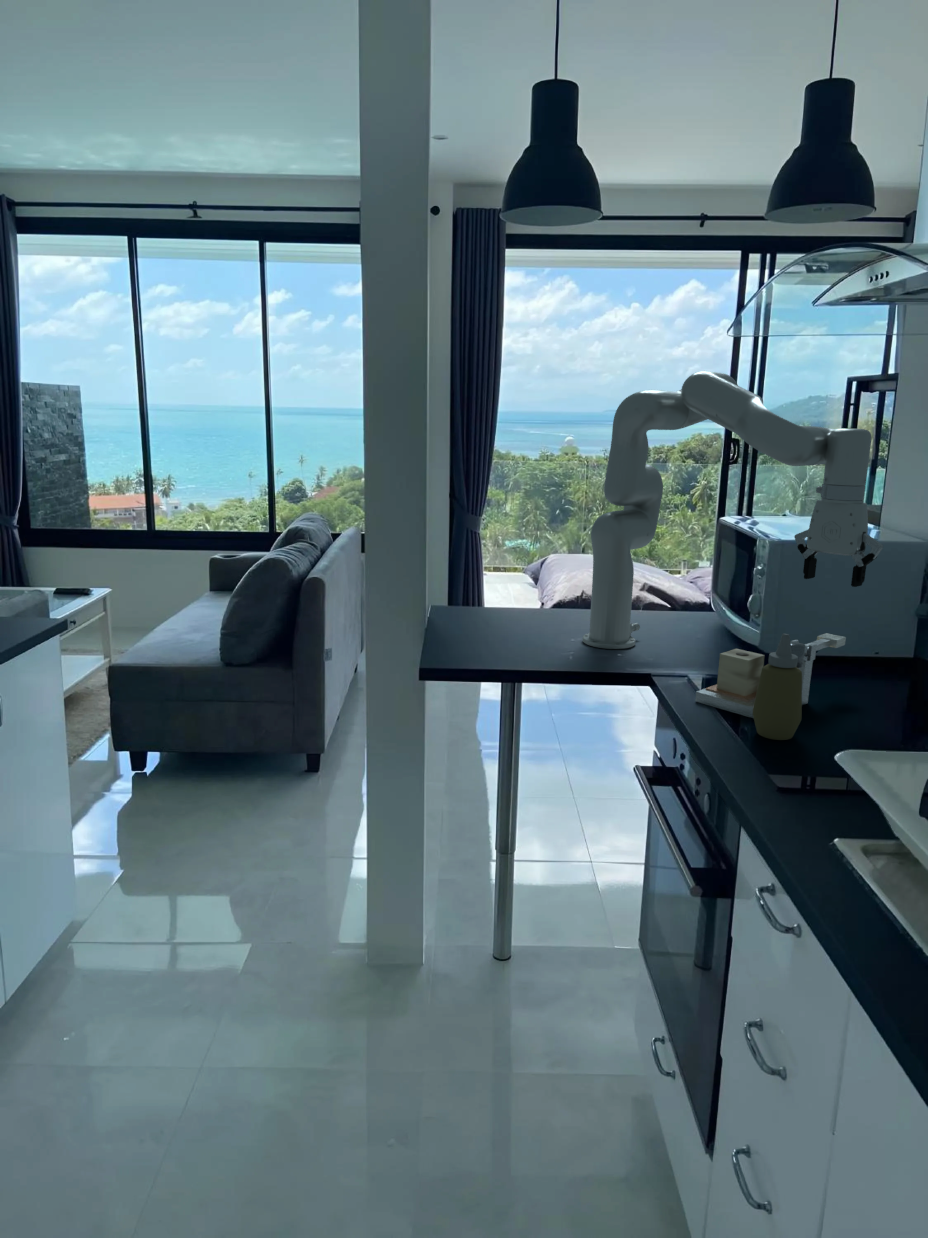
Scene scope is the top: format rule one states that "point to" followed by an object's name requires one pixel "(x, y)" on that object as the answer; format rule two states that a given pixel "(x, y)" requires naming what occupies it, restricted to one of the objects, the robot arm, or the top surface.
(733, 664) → the maple block
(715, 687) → the press
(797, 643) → the press lever
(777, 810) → the top surface
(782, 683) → the squeeze bottle
